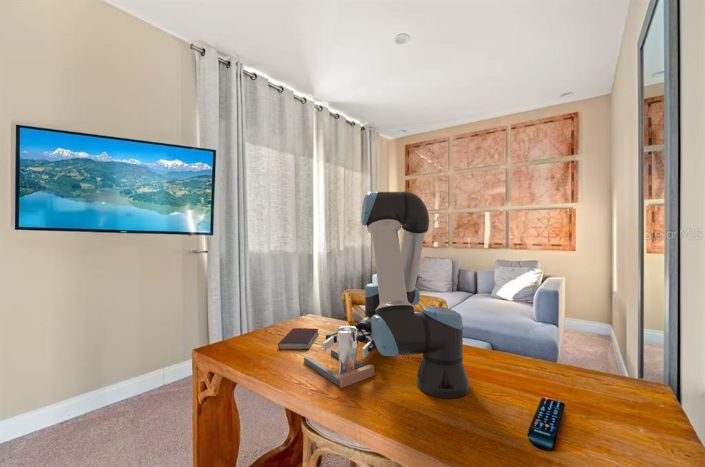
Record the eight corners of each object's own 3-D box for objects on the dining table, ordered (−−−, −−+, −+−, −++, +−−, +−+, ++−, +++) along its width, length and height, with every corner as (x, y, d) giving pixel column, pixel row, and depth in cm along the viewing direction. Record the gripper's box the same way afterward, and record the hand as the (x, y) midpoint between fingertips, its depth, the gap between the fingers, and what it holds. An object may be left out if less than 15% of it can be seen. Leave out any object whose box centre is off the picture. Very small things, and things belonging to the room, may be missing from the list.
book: (277, 350, 129) (277, 342, 129) (292, 334, 148) (292, 327, 148) (308, 351, 127) (308, 343, 127) (319, 335, 146) (319, 327, 146)
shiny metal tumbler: (359, 370, 108) (358, 326, 108) (357, 380, 102) (357, 332, 101) (338, 369, 109) (338, 325, 109) (335, 379, 102) (335, 332, 102)
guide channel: (374, 375, 105) (374, 366, 105) (341, 387, 97) (341, 378, 97) (334, 353, 123) (334, 345, 123) (304, 362, 115) (303, 354, 115)
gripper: (398, 344, 117) (381, 367, 97) (336, 335, 127) (308, 356, 107) (398, 323, 117) (380, 343, 97) (336, 316, 126) (308, 333, 107)
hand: (343, 350), depth 102 cm, fingers open, 13 cm apart
